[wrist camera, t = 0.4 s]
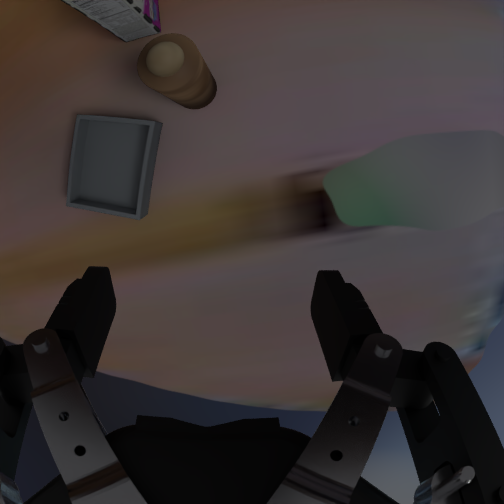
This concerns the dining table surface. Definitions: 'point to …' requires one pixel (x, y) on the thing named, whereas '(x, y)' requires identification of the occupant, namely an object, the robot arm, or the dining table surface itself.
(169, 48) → the pepper mill
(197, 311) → the dining table surface
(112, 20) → the candy bar box
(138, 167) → the tray
